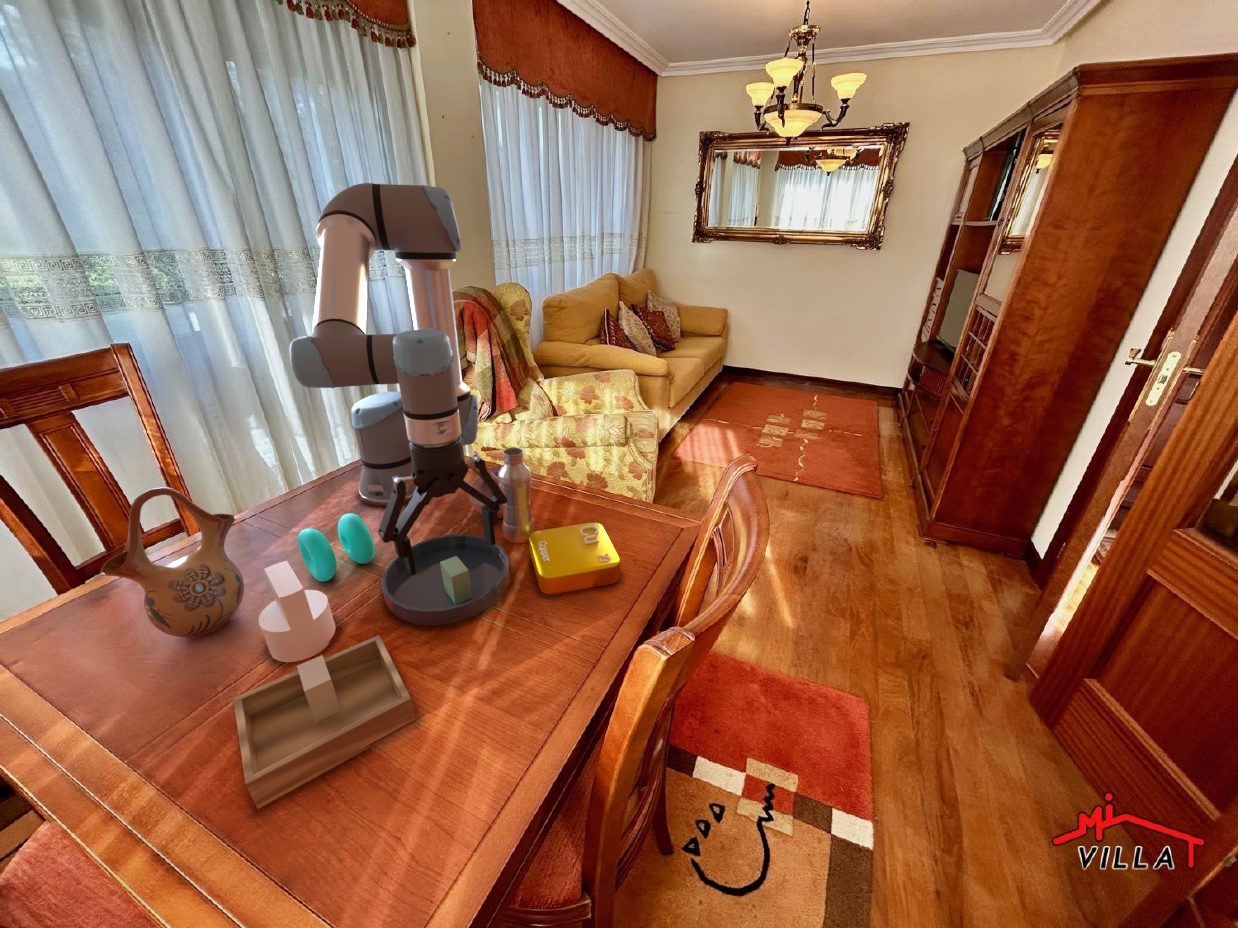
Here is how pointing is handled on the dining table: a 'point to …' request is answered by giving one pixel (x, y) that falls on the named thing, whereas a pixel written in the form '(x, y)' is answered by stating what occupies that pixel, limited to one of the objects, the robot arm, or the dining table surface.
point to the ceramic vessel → (183, 574)
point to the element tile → (573, 558)
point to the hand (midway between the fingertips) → (452, 555)
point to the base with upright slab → (294, 617)
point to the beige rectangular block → (318, 688)
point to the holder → (301, 748)
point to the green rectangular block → (456, 579)
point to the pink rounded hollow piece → (486, 490)
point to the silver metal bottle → (516, 497)
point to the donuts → (321, 553)
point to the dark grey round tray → (425, 590)
